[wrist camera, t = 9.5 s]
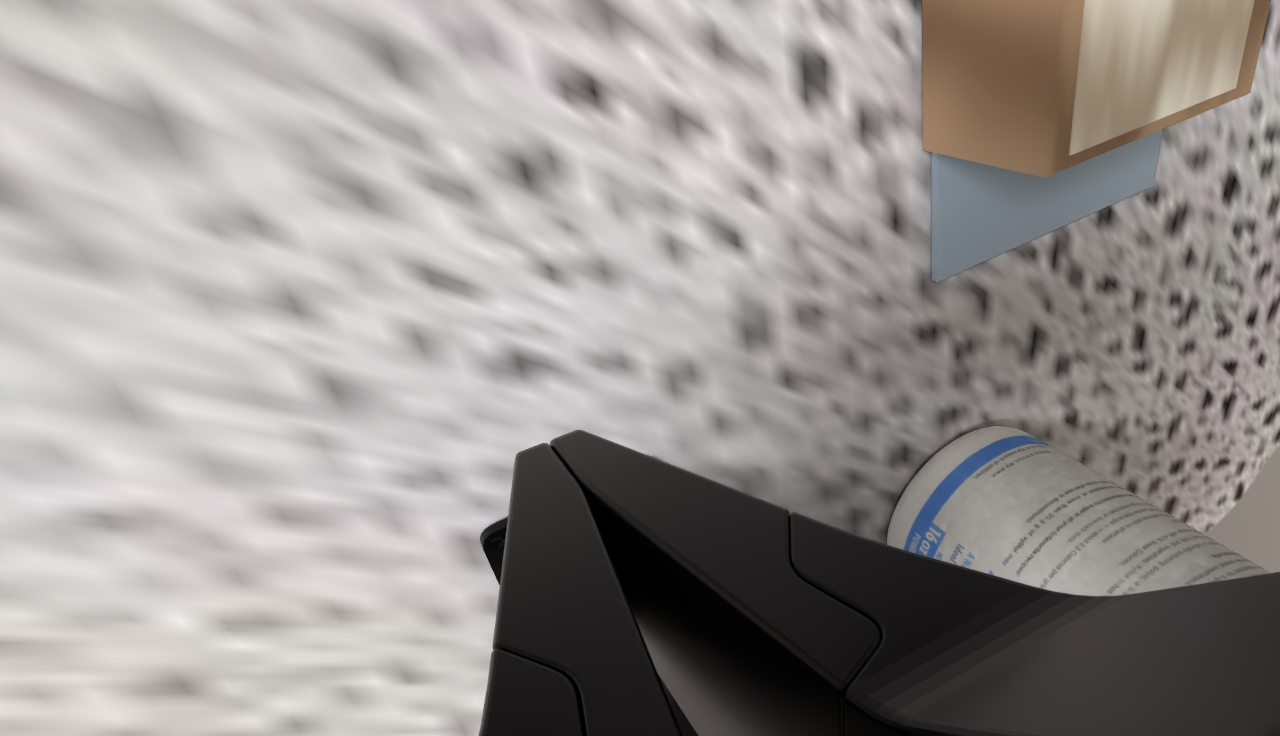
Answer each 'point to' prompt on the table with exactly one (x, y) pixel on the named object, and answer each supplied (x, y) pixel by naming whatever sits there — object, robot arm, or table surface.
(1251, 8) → the brown rectangular block
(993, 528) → the supplement tub
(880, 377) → the table surface
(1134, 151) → the pad
